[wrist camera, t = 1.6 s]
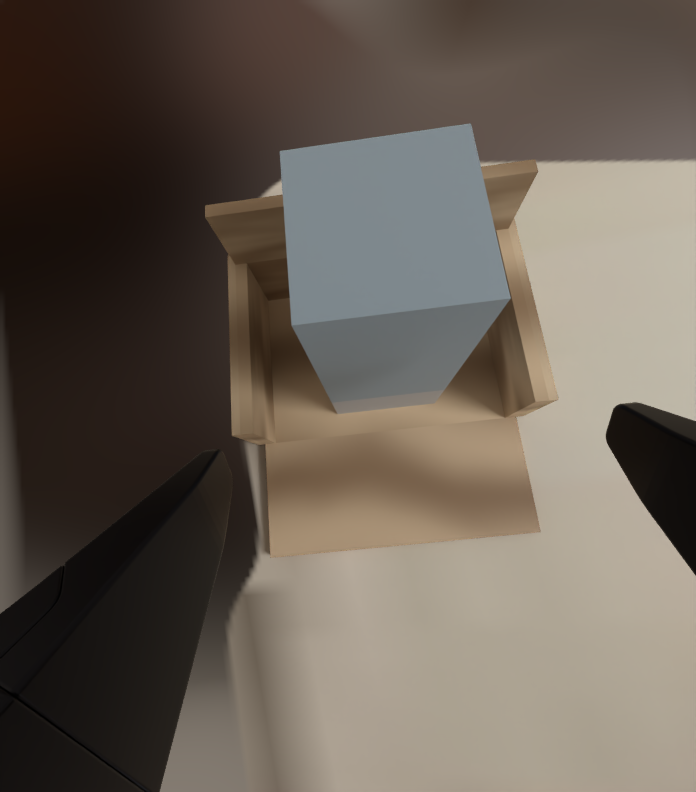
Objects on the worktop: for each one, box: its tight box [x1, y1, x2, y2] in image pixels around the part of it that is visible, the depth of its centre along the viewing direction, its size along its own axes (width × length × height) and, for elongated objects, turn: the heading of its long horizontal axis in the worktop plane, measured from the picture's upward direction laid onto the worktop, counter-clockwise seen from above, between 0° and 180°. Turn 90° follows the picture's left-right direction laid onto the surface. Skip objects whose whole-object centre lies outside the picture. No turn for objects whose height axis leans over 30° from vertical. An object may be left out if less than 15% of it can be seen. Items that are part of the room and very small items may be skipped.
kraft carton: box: [205, 160, 558, 558], centre depth 18 cm, size 16×15×8 cm
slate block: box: [280, 124, 511, 414], centre depth 16 cm, size 6×6×12 cm
